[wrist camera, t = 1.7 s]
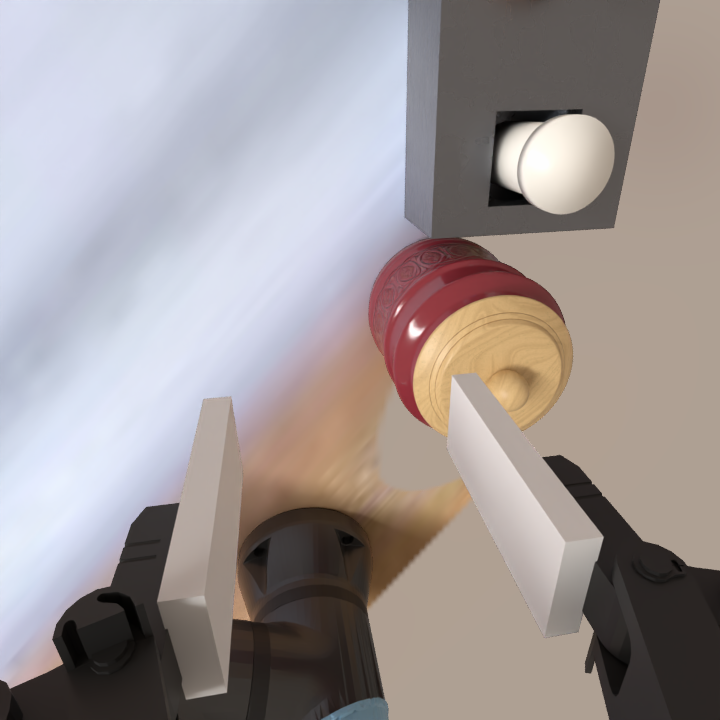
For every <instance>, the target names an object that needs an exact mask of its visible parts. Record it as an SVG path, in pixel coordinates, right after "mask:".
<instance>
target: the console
mask: <svg viewBox="0 0 720 720" xmlns="http://www.w3.org/2000/svg"><path fill="white" fill-rule="evenodd" d="M659 3H660V0H409V6H408V60H407V114H406V168H405V218H406V219H407V220H409V221H410V222H411V223H412V224H414V225H415V226H416V227H417V228H418V229H420V230H421V231H422V232H423V233H425V234H426V235H427V236H428V237H429V238H431V239H438V238H455V237H472V236H488V235H506V234H522V233H539V232H556V231H571V230H588V229H606V228H614V224H615V219H616V214H617V210H618V205H619V200H620V195H621V190H622V185H623V180H624V175H625V170H626V165H627V160H628V155H629V150H630V146H631V141H632V135H633V131H634V126H635V120H636V116H637V111H638V106H639V101H640V96H641V91H642V86H643V82H644V76H645V72H646V67H647V62H648V57H649V52H650V47H651V42H652V37H653V33H654V28H655V23H656V18H657V13H658V8H659ZM565 114H579V115H588V116H591V117H594V118H596V119H597V120H599V121H600V122H601V123H603V124H604V125H605V127H606V128H607V129H608V131H609V133H610V134H611V137H612V140H613V144H614V152H615V154H614V165H613V169H612V172H611V175H610V178H609V180H608V182H607V184H606V186H605V187H604V189H603V190H602V192H601V193H600V194H599V195H598V196H597V197H596V199H595V200H593V201H592V202H591V203H590V204H589V205H587V206H586V207H584V208H582V209H580V210H578V211H576V212H573V213H569V214H553V213H549V212H546V211H544V210H541V209H538V208H536V207H535V206H533V205H532V204H530V203H529V202H528V201H527V200H526V199H525V197H524V196H523V194H521V193H518V192H515V191H512V190H509V189H506V188H503V187H500V186H497V185H494V184H492V183H490V178H491V167H492V156H493V145H494V134H495V125H497V124H499V123H501V122H504V121H528V122H545V121H547V120H549V119H551V118H553V117H556V116H559V115H565Z"/></svg>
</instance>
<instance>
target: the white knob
mask: <svg viewBox="0 0 720 720" xmlns="http://www.w3.org/2000/svg"><path fill="white" fill-rule="evenodd" d="M614 154H615V152H614V144H613V140H612V137H611V134H610V133H609V131H608V129H607V128H606V127H605V125H604V124H603V123H601V122H600V121H599V120H597V119H596V118H594V117H591V116H588V115H579V114H565V115H559V116H556V117H553V118H551V119H549V120H547V121H545V122H528V121H504V122H501V123H499V124H497V125H495V134H494V145H493V156H492V167H491V178H490V183H492V184H494V185H497V186H500V187H503V188H506V189H509V190H512V191H515V192H518V193H521V194H523V196H524V197H525V199H526V200H527V201H528V202H529V203H530V204H532V205H533V206H535V207H536V208H538V209H541V210H544V211H546V212H549V213H553V214H569V213H573V212H576V211H578V210H580V209H582V208H584V207H586V206H587V205H589V204H590V203H591V202H592V201H593V200H595V199H596V197H597V196H598V195H599V194H600V193H601V192H602V190H603V189H604V187H605V186H606V184H607V182H608V180H609V178H610V175H611V172H612V169H613V165H614Z"/></svg>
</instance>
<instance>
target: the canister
mask: <svg viewBox="0 0 720 720" xmlns="http://www.w3.org/2000/svg"><path fill="white" fill-rule="evenodd" d="M369 325H370V330H371V333H372V336H373V338H374V341H375V343H376V345H377V347H378V349H379V350H380V352H381V353H382V355H383V356H384V359H385V364H386V367H387V370H388V373H389V375H390V377H391V379H392V380H393V382H394V384H395V386H396V389H397V392H398V394H399V397H400V399H401V401H402V402H403V404H404V405H405V407H406V408H407V409H408V411H409V412H410V413H411V414H412V415H413V416H414V417H416V418H417V419H418V420H419V421H421V422H422V423H424V424H425V425H427V426H429V427H431V428H434V429H435V430H436V431H437V432H439V433H440V434H442V435H444V436H446V437H448V424H449V409H450V395H451V381H452V375H457V374H468V373H477V374H478V376H479V377H480V378H481V380H482V381H483V382H484V383H485V385H486V386H487V387H488V389H489V390H490V391H491V392H492V394H493V395H494V396H495V398H496V399H497V400H498V401H499V403H500V404H501V405H502V407H503V408H504V409H505V410H506V412H507V413H508V414H509V416H510V417H511V418H512V419H513V421H514V422H515V423H516V425H517V426H518V427H519V428H520V430H521V431H524V430H526V429H527V428H529V427H530V426H532V425H533V424H535V423H536V422H537V421H538V420H540V419H541V418H542V417H543V416H544V415H545V414H546V413H547V412H548V411H549V410H550V409H551V408H552V407H553V406H554V404H555V403H556V402H557V400H558V399H559V397H560V396H561V394H562V392H563V390H564V388H565V386H566V384H567V382H568V379H569V376H570V372H571V368H572V362H573V349H572V342H571V338H570V334H569V332H568V330H567V328H566V326H565V321H564V318H563V315H562V312H561V310H560V308H559V306H558V304H557V303H556V301H555V300H554V298H553V297H552V296H551V294H550V293H549V292H548V291H547V290H545V289H544V288H543V287H542V286H541V285H539V284H538V283H536V282H534V281H533V280H531V279H529V278H526V277H525V276H524V275H523V274H522V273H520V272H519V271H518V270H516V269H515V268H512V267H511V266H509V265H507V264H504V263H501V262H500V261H498V259H497V258H496V257H495V256H494V255H493V254H491V253H490V252H489V251H487V250H486V249H484V248H483V247H481V246H479V245H478V244H475V243H473V242H471V241H468V240H465V239H461V238H438V239H431V238H428V239H424V240H421V241H418V242H415V243H413V244H411V245H409V246H407V247H405V248H404V249H402V250H401V251H399V252H398V253H397V254H396V255H394V256H393V257H392V258H391V259H390V260H389V261H388V262H387V263H386V265H385V266H384V267H383V269H382V270H381V271H380V273H379V275H378V276H377V278H376V280H375V283H374V285H373V288H372V291H371V295H370V301H369Z"/></svg>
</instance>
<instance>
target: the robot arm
mask: <svg viewBox="0 0 720 720" xmlns="http://www.w3.org/2000/svg"><path fill="white" fill-rule="evenodd" d="M447 451H448V453H449V455H450V456H451V458H452V460H453V462H454V464H455V466H456V468H457V470H458V472H459V474H460V476H461V478H462V480H463V482H464V484H465V486H466V488H467V489H468V491H469V493H470V495H471V497H472V499H473V501H474V503H475V505H476V507H477V509H478V511H479V513H480V515H481V516H482V518H483V520H484V522H485V524H486V526H487V528H488V530H489V532H490V534H491V536H492V538H493V540H494V542H495V544H496V546H497V547H498V549H499V551H500V553H501V555H502V557H503V559H504V561H505V563H506V565H507V567H508V569H509V571H510V573H511V575H512V576H513V578H514V580H515V582H516V584H517V586H518V588H519V590H520V592H521V594H522V596H523V598H524V600H525V602H526V604H527V606H528V607H529V609H530V611H531V613H532V615H533V617H534V619H535V621H536V623H537V625H538V627H539V629H540V631H541V632H542V635H543V636H544V638H547V637H553V636H559V635H565V634H571V633H576V632H578V631H579V627H580V623H581V620H582V616H583V613H584V615H585V617H586V618H587V620H588V621H589V623H590V625H591V626H592V628H593V630H594V633H593V637H592V640H591V644H590V647H589V651H588V654H587V658H586V661H585V673H591V672H592V669H593V665H594V662H595V663H596V667H597V671H598V675H599V680H600V684H601V687H602V692H603V696H604V700H605V704H606V708H607V712H608V716H609V720H720V571H719V570H711V569H702V568H695V567H690V566H687V565H686V564H685V562H684V561H683V560H682V559H680V558H679V557H678V556H676V555H675V554H674V553H672V552H671V551H669V550H667V549H665V548H663V547H661V546H659V545H656V544H652V543H648V542H644V541H642V540H641V538H640V537H639V536H638V535H637V534H636V533H635V531H634V530H633V529H632V528H631V527H630V526H629V525H628V523H627V522H626V521H625V520H624V519H623V517H622V516H621V515H620V514H619V513H618V512H617V510H616V509H615V508H614V507H613V506H612V505H611V504H610V502H609V501H608V500H607V499H606V498H605V497H603V496H602V493H601V492H600V491H599V490H598V488H597V487H596V486H595V485H594V484H593V485H592V482H591V480H590V479H589V478H588V477H587V476H586V474H585V473H584V472H583V471H582V470H581V469H580V467H578V466H577V465H575V464H574V463H572V462H571V461H569V460H567V459H566V458H564V457H563V456H561V455H557V456H549V457H541V455H540V454H539V453H538V452H537V450H536V449H535V448H534V446H533V445H532V444H531V443H530V441H529V440H528V439H527V438H526V436H525V435H524V434H523V432H522V431H521V430H520V428H519V427H518V426H517V425H516V423H515V422H514V421H513V419H512V418H511V417H510V416H509V414H508V413H507V412H506V410H505V409H504V408H503V407H502V405H501V404H500V403H499V401H498V400H497V399H496V398H495V396H494V395H493V394H492V392H491V391H490V390H489V389H488V387H487V386H486V385H485V383H484V382H483V381H482V380H481V378H480V377H479V376H478V374H477V373H468V374H457V375H452V381H451V395H450V409H449V424H448V439H447ZM242 482H243V469H242V462H241V456H240V450H239V443H238V437H237V431H236V424H235V418H234V412H233V405H232V399H231V396H230V397H220V398H210V399H203V403H202V408H201V412H200V416H199V421H198V425H197V429H196V434H195V438H194V443H193V447H192V451H191V456H190V460H189V464H188V469H187V473H186V477H185V482H184V486H183V491H182V495H181V499H180V503H175V504H167V505H159V506H151V507H146V508H145V509H144V510H143V511H142V513H141V514H140V515H139V516H138V517H137V518H136V520H135V521H134V522H133V523H132V524H131V527H130V530H129V533H128V536H127V539H126V542H125V548H123V551H122V554H121V557H120V563H119V564H118V566H117V569H116V572H115V575H114V578H113V581H112V584H111V586H110V587H106V588H101V589H97V590H95V591H93V592H91V593H89V594H87V595H86V596H84V597H82V598H80V599H79V600H78V601H77V602H75V603H74V604H73V605H72V606H71V607H70V608H68V609H67V610H66V611H65V613H64V614H63V616H62V617H61V619H60V620H59V621H58V623H57V624H56V628H55V631H54V635H53V639H52V640H53V642H54V644H55V646H56V648H57V651H58V653H59V655H60V657H61V659H62V661H63V664H62V665H61V666H59V667H57V668H55V669H53V670H51V671H49V672H47V673H45V674H43V675H40V676H38V677H36V678H34V679H31V680H29V681H27V682H24V683H22V684H20V685H18V686H15V687H13V688H11V689H9V687H8V685H7V683H6V682H4V681H1V680H0V720H388V704H387V702H386V701H385V697H384V693H383V687H382V683H381V678H380V673H379V668H378V663H377V658H376V653H375V648H374V643H373V638H372V633H371V628H370V623H369V619H368V613H367V602H368V596H369V590H370V583H371V577H372V571H373V557H372V552H371V548H370V543H369V540H368V537H367V535H366V533H365V531H364V530H363V529H362V527H361V526H360V525H359V524H358V523H357V522H356V521H354V520H353V519H351V518H350V517H348V516H346V515H344V514H342V513H339V512H336V511H333V510H328V509H321V508H304V509H296V510H292V511H288V512H284V513H281V514H279V515H276V516H274V517H272V518H270V519H268V520H266V521H265V522H263V523H262V524H261V525H259V526H258V527H257V528H256V529H254V530H253V531H252V532H251V534H250V535H249V536H248V537H247V539H246V540H245V542H244V543H243V545H242V548H241V550H240V554H239V561H238V583H239V588H240V591H241V593H242V596H243V599H244V602H245V605H246V608H247V611H248V614H249V617H250V620H251V621H247V620H238V619H232V618H233V604H234V591H235V577H236V564H237V550H238V537H239V523H240V510H241V496H242Z"/></svg>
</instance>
